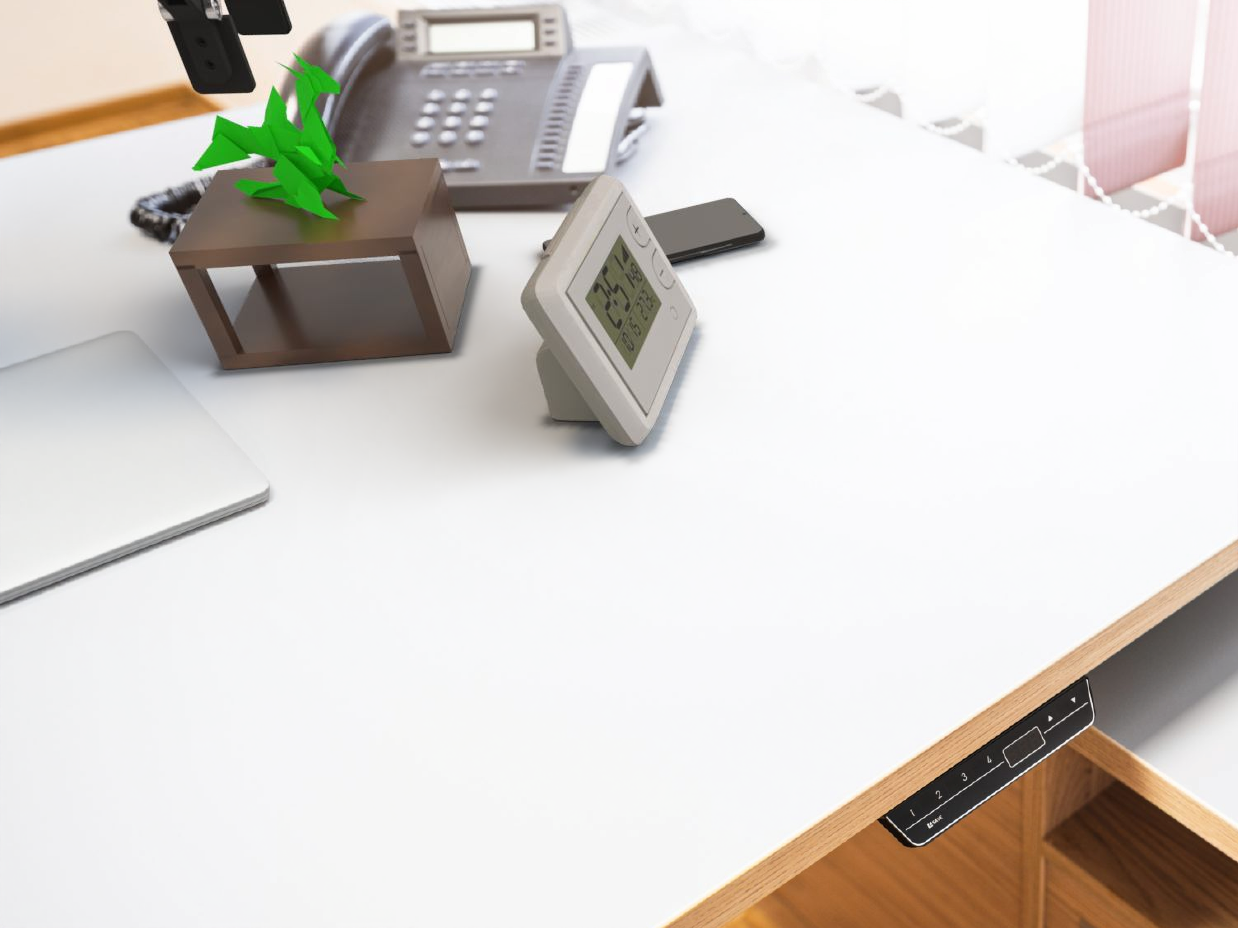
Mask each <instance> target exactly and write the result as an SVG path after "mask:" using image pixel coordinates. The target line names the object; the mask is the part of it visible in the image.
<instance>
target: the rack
mask: <svg viewBox="0 0 1238 928" xmlns="http://www.w3.org/2000/svg"><path fill="white" fill-rule="evenodd" d="M342 163H343V164H344V166H345V167H346V168H347V169H346V168H345V167H344V166H342V165H341V164H340V163H339V162H337V163H334V164H333V167H332V170H331V172H332V173H333V174H335V175H336V176H338V177H339V178H340V179H341V181H342V183H343V185H344V186H345V188H346V190H347V192H349V193H352V194H354V195H357V196H359V197H361V198H364V199H366V200H362V199H354V198H350V197H347V196H345V195H342V194H339V193H337V192H334V191H331V190H329V189H325V190H324V191H323V192H322V193H321V194H320V198H321V201H322V204H323V207H324V208H325V209H326V210H328V211H329V212H330V213H332V214H333V215H334V216H336V217H337V218H338V219H331V218H323V217H321V216H319V215H317V214H315V213H312V212H310V211H308V210H306V209H304V208H302V207H301V208H300V209H299V208H297V207H294V206H292V205H289V204H287V203H284V202H285V201H286V199H280V198H266V197H252V196H249V195H247V194H246V193H244V192H243V191H241V190H240V189H238V188H237V187H235V186H234V185H233V184H235V183H237V182H238V181H240V180H241V179H247V180H252V181H258V182H263V183H271V182H279V181H278V180H277V179H276V177H275V176H274V175H273V173H272V172H273V169H274V167H275V166H269V167H250V168H233V169H217V171H216V172H215V174H214V175H213V177H212V179H211V181H210V182H209V184H208V185H207V187H206V189H205V191H204V193H203V194H202V196H201V197H200V199H199V201H198V202H197V204H196V206H195V207H194V209H193V211H192V212H191V214H190V216H189V217H188V219H187V221H186V222H185V224H184V226H183V227H182V229H181V230H180V232H179V234H178V235H177V237H176V239H175V241H174V242H173V244H172V245H171V248H169V250H168V255H169V257H170V259H171V261H172V263H173V265H174V268H175V269H176V272H177V273H178V275H179V278H180V280H181V282H182V284H183V286H184V288H185V290H186V292H187V294H188V296H189V299H190V301H191V302H192V305H193V307H194V309H195V310H196V313H197V316H198V317H199V319H200V321H201V324H202V326H203V328H204V330H205V332H206V334H207V337H208V339H209V341H210V343H211V345H212V347H213V349H214V351H215V353H216V355H217V357H218V360H219V361H220V364H221V366H222V368H223V370H239V369H250V368H262V367H263V368H264V367H274V366H275V367H278V366H289V365H301V364H303V365H304V364H313V363H314V364H315V363H326V362H328V363H329V362H339V361H341V362H342V361H351V360H353V361H354V360H363V359H364V360H366V359H378V358H390V357H391V358H392V357H405V356H415V355H428V354H441V353H452V350H453V346H454V343H455V339H456V334H457V330H458V327H459V323H460V318H461V314H462V310H463V306H464V302H465V297H466V294H467V290H468V286H469V282H470V277H471V274H472V269H473V265H472V263H471V259H470V256H469V253H468V250H467V247H466V246H467V245H466V243H465V240H464V237H463V234H462V230H461V227H460V224H459V221H458V218H457V217H458V216H457V214H456V211H455V207H454V204H453V202H452V198H451V195H450V191H449V188H448V185H447V181H446V179H445V175H444V172H443V169H442V166H441V163H440V159H439V157H424V158H408V159H407V158H406V159H391V160H388V159H387V160H373V161H354V162H353V161H352V162H342ZM339 219H340V220H339ZM383 257H384V258H385V257H386V258H387V257H398V258H399V259H389V260H388V259H387V260H373V261H359V262H346V263H345V262H344V263H330V264H314V265H299V266H298V265H297V266H285V267H278V265H280V264H282V265H283V264H296V263H298V264H299V263H311V262H324V261H340V260H342V261H343V260H356V259H369V258H370V259H371V258H372V259H373V258H383ZM250 266H251V267H252V269H253V272H254V275H255V279H254V281H253V283H252V285H251V286H250V290H249V291H248V293H247V295H246V297H245V299H244V302H243V304H242V306H241V307H240V309H239V312H238V315H237V316H236V318H235V320H234V321H233V324H232V321H231V320H230V317H229V315H228V313H227V310H226V308H225V306H224V305H223V302H222V300H221V298H220V295H219V293H218V291H217V289H216V287H215V284H214V282H213V280H212V278H211V276H210V274H209V272H208V269H209V270H210V269H221V268H222V269H223V268H237V267H250Z"/></svg>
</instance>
